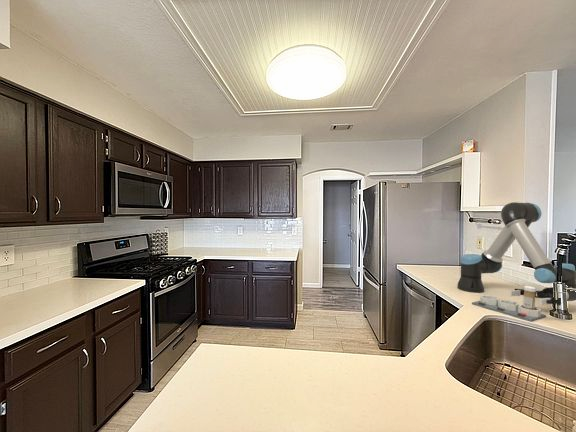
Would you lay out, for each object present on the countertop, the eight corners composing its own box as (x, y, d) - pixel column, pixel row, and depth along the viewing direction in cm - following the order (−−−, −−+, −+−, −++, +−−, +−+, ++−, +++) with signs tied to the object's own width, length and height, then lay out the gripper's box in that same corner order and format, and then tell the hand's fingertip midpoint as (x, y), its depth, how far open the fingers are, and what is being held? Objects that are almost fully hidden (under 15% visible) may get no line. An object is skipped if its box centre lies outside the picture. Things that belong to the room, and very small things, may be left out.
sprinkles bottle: (536, 314, 137) (538, 288, 136) (529, 315, 136) (531, 288, 135) (527, 311, 141) (528, 285, 141) (520, 311, 140) (521, 285, 140)
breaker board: (471, 304, 154) (471, 297, 154) (487, 300, 161) (487, 294, 161) (531, 321, 130) (531, 313, 130) (546, 317, 137) (546, 309, 137)
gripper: (585, 310, 131) (554, 313, 125) (527, 294, 155) (499, 297, 149) (586, 294, 131) (555, 297, 125) (527, 281, 155) (499, 283, 149)
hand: (524, 297), depth 137 cm, fingers open, 13 cm apart
